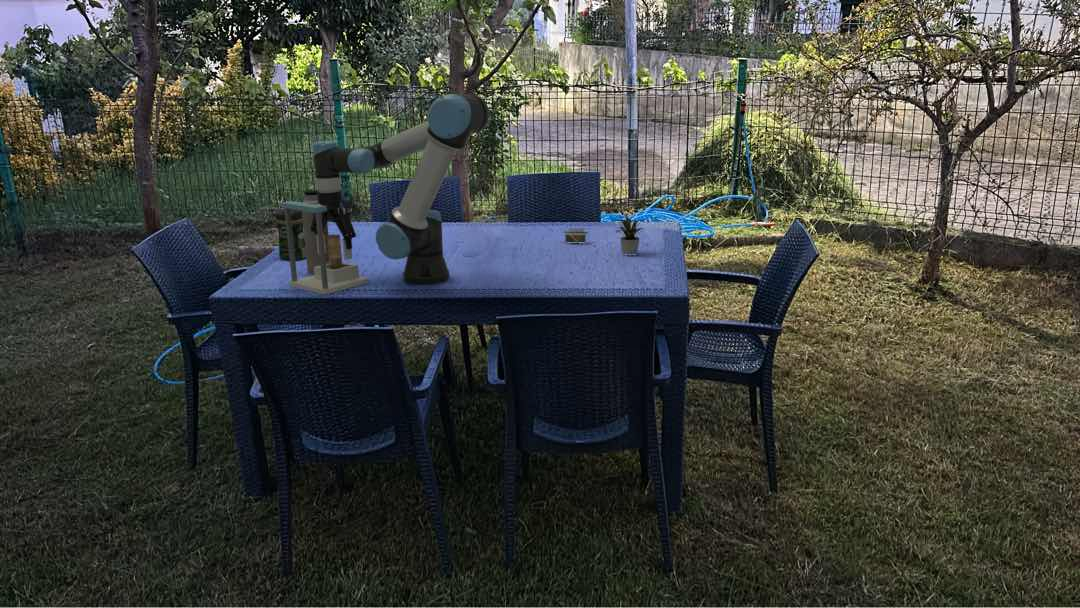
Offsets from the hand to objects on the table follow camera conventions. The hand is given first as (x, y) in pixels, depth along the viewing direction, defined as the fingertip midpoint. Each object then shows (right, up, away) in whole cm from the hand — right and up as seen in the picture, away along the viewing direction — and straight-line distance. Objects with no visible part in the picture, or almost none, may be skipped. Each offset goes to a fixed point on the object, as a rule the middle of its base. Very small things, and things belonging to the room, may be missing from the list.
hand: (334, 256), depth 251 cm
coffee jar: (-25, +1, +37) cm, 45 cm away
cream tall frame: (-2, -9, 0) cm, 9 cm away
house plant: (+98, +3, +36) cm, 105 cm away
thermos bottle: (-9, -5, +16) cm, 19 cm away
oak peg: (0, -7, +2) cm, 7 cm away
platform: (+80, +8, +56) cm, 98 cm away
